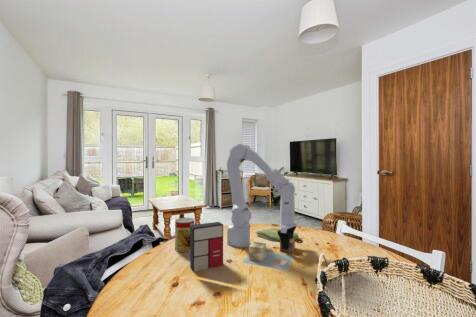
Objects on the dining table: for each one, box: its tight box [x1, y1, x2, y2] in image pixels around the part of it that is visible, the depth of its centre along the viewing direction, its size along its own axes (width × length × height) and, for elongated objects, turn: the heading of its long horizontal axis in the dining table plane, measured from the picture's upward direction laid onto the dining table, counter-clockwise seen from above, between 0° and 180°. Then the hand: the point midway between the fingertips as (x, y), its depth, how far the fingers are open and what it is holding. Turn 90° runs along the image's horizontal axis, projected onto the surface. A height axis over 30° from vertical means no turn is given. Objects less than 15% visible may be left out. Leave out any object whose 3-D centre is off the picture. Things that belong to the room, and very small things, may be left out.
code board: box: [242, 251, 294, 272], centre depth 86 cm, size 16×13×1 cm
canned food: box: [174, 217, 195, 253], centre depth 98 cm, size 8×8×12 cm
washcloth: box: [255, 227, 300, 243], centre depth 113 cm, size 13×18×3 cm
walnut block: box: [279, 238, 296, 254], centre depth 95 cm, size 5×5×5 cm
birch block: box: [248, 241, 267, 262], centre depth 87 cm, size 5×5×5 cm
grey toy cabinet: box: [189, 221, 224, 272], centre depth 80 cm, size 11×4×15 cm, turn 117°
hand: (287, 245), depth 95 cm, fingers open, 7 cm apart
